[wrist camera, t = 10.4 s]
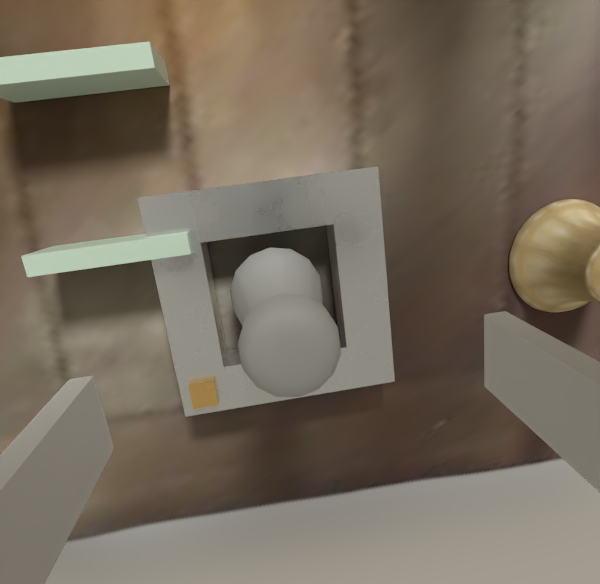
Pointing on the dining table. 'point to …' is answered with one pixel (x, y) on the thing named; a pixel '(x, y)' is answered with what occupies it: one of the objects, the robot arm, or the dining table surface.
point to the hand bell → (558, 256)
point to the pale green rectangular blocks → (82, 81)
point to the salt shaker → (284, 323)
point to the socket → (261, 220)
